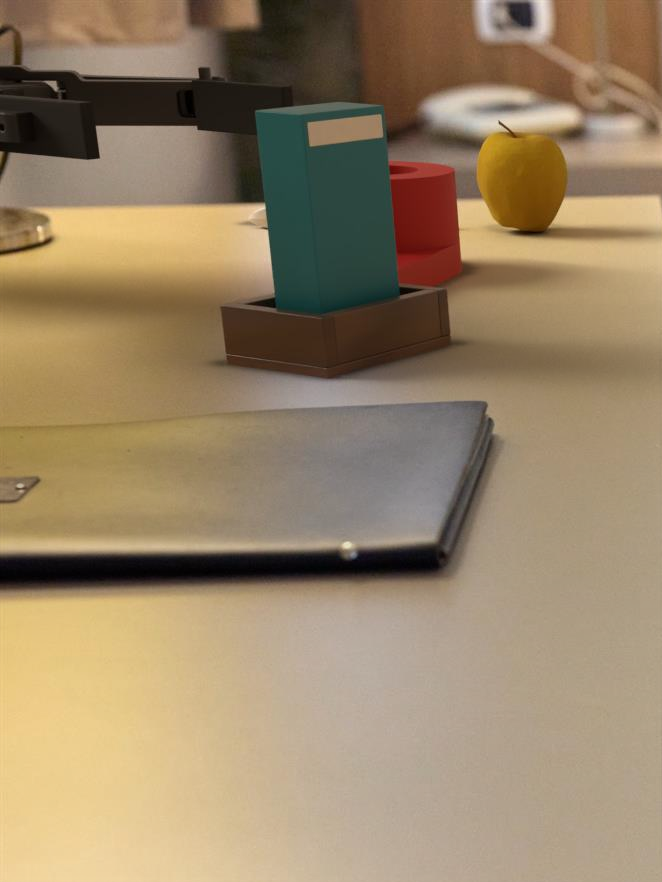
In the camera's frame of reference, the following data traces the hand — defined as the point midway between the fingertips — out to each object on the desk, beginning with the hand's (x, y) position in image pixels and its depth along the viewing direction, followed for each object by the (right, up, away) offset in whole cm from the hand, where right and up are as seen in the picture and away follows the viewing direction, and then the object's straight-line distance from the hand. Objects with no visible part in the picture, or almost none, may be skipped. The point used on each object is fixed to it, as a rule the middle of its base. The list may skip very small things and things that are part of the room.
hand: (196, 121), depth 102 cm
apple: (+7, +3, +42) cm, 43 cm away
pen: (-6, +4, +42) cm, 42 cm away
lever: (+3, -5, +20) cm, 21 cm away
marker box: (+7, -11, +1) cm, 14 cm away
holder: (+7, -12, +1) cm, 14 cm away
